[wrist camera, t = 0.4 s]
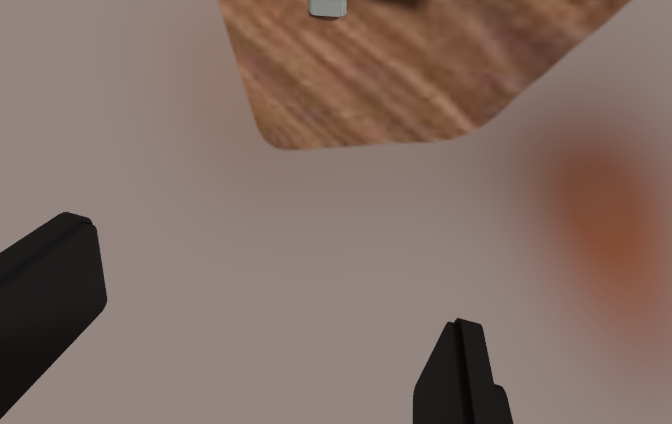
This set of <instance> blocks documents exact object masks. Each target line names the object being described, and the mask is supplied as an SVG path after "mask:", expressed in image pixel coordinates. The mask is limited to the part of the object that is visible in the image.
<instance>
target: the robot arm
mask: <svg viewBox="0 0 672 424" xmlns="http://www.w3.org/2000/svg"><path fill="white" fill-rule="evenodd" d="M106 303H107V295H106V288H105V281H104V275H103V268H102V261H101V255H100V248H99V242H98V236H97V229H96V227H95V226H94V225H93V224H92V221H91V220H90V219H89V218H87V217H83V216H79V215H76V214H72V213H69V212H63V213H61V214H59V215H57V216H56V217H54V218H53V219H51V220H50V221H48V222H47V223H45V224H44V225H42V226H40V227H39V228H37V229H36V230H34V231H33V232H31V233H30V234H28V235H27V236H25V237H24V238H22V239H21V240H19V241H18V242H16V243H15V244H13V245H12V246H10V247H8V248H7V249H5V250H4V251H2V252H1V253H0V419H1V418H2V417H3V416H4V415H5V414H6V412H7V411H8V410H9V409H10V408H11V407H12V406H13V405H14V404H15V403H16V402H17V401H18V400H19V399H20V398H21V397H22V396H23V395H24V394H25V392H26V391H27V390H28V389H29V388H30V387H31V386H32V385H33V384H34V383H35V382H36V381H37V379H39V378H40V377H41V375H42V374H43V373H44V372H45V371H46V370H47V369H48V368H49V367H50V366H51V365H52V364H53V363H54V362H55V361H56V360H57V359H58V357H60V355H61V354H62V353H63V352H64V351H65V350H66V349H67V348H68V347H69V346H70V345H71V344H72V343H73V342H74V341H75V340H76V339H77V337H78V336H79V335H80V334H81V333H82V332H83V331H84V330H85V329H86V328H87V327H88V326H89V325H90V324H91V323H92V322H93V320H95V318H96V317H97V316H98V315H99V314H100V313H101V312H102V311H103V309H104V307H105V305H106ZM413 424H513V420H512V416H511V412H510V407H509V403H508V398H507V395H506V393H505V391H504V389H503V387H501V386H499V385H496V384H494V382H493V377H492V372H491V367H490V362H489V357H488V352H487V347H486V342H485V337H484V332H483V328H482V325H481V324H478V323H475V322H471V321H467V320H463V319H460V318H457V319H456V320H455V322H454V323H452V322H447V324H446V326H445V327H444V329H443V331H442V333H441V335H440V337H439V340H438V342H437V343H436V346H435V348H434V350H433V351H432V354H431V355H430V357H429V360H428V362H427V363H426V366H425V367H424V369H423V371H422V373H421V375H420V378H419V380H418V381H417V384H416V386H415V389H414V394H413Z"/></svg>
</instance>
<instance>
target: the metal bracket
mask: <svg viewBox="0 0 672 424" xmlns="http://www.w3.org/2000/svg"><path fill="white" fill-rule="evenodd" d="M308 10H309V12H310V14H312V15H317V16H332V17H342V16H344V15H345V14H346V0H308Z"/></svg>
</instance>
